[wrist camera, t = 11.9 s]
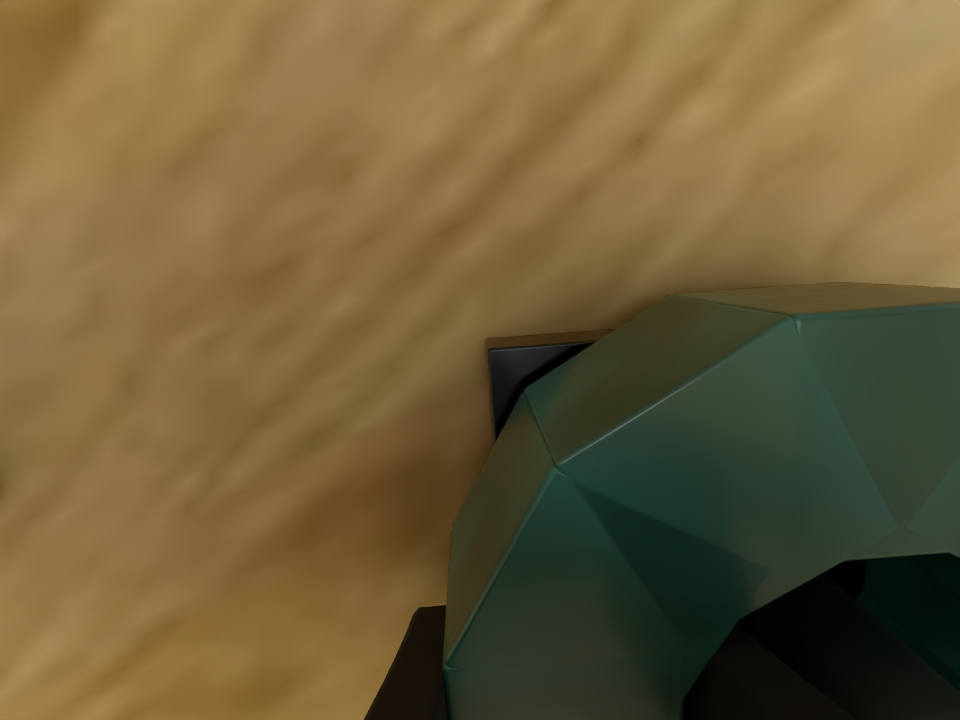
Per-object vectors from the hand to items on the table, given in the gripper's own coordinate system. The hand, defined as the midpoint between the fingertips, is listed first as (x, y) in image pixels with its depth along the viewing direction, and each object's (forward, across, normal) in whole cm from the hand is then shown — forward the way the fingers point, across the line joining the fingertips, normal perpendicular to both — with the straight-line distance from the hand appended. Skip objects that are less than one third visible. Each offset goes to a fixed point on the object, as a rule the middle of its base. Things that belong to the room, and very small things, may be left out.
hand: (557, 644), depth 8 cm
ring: (+1, -4, 0) cm, 4 cm away
